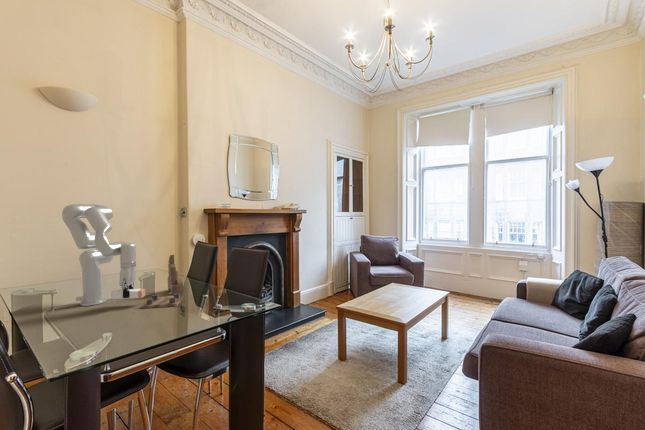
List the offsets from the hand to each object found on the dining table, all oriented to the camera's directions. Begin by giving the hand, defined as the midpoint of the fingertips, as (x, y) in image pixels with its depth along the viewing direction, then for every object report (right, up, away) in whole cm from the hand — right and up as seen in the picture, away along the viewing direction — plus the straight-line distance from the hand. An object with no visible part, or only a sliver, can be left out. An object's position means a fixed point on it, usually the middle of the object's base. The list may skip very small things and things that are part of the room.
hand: (128, 295), depth 174 cm
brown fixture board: (+19, -5, +3) cm, 20 cm away
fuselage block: (0, -1, 0) cm, 1 cm away
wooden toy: (+14, -5, +27) cm, 31 cm away
